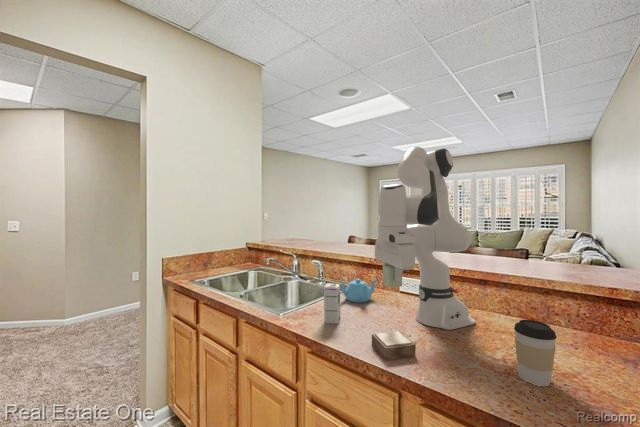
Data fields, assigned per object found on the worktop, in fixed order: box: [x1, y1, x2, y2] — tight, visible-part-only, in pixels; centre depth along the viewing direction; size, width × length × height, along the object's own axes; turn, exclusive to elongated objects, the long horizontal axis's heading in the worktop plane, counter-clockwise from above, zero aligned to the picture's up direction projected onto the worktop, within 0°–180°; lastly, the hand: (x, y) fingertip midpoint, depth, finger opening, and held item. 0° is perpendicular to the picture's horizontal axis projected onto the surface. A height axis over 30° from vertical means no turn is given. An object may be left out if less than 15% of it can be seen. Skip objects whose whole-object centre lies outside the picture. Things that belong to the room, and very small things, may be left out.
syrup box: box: [323, 282, 341, 325], centre depth 116 cm, size 6×6×14 cm
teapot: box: [339, 278, 378, 304], centre depth 143 cm, size 15×15×10 cm
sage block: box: [382, 264, 403, 288], centre depth 91 cm, size 4×4×6 cm
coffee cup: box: [513, 319, 558, 386], centre depth 76 cm, size 9×9×15 cm
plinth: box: [371, 330, 417, 361], centre depth 92 cm, size 10×10×4 cm
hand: (392, 278), depth 91 cm, fingers closed on sage block, 4 cm apart
